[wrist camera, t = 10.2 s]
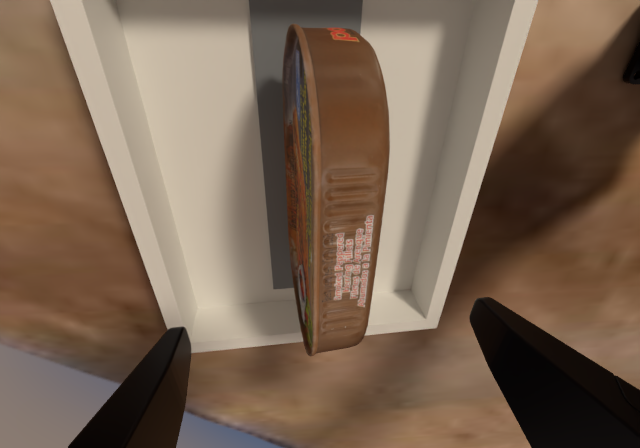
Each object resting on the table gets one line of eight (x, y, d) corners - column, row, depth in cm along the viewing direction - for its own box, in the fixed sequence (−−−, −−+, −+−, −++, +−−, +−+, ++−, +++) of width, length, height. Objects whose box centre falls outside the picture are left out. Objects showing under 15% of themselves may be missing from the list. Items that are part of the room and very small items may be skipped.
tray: (498, -63, 15) (564, -85, 12) (415, 289, 27) (436, 328, 23) (75, -84, 13) (8, -119, 9) (189, 308, 25) (176, 354, 21)
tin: (278, 21, 14) (288, 27, 7) (348, 22, 15) (419, 29, 8) (289, 276, 23) (299, 394, 16) (334, 273, 23) (363, 387, 16)
